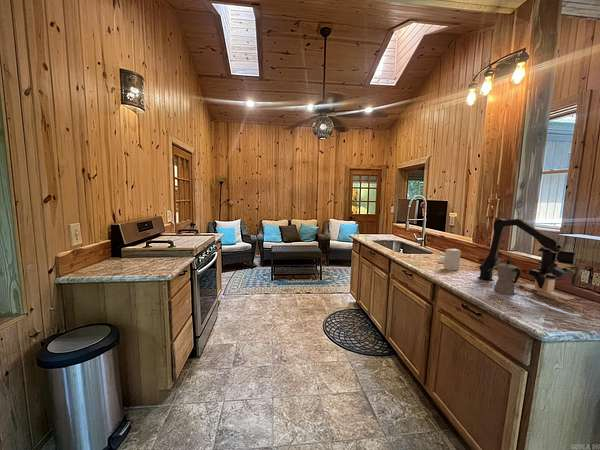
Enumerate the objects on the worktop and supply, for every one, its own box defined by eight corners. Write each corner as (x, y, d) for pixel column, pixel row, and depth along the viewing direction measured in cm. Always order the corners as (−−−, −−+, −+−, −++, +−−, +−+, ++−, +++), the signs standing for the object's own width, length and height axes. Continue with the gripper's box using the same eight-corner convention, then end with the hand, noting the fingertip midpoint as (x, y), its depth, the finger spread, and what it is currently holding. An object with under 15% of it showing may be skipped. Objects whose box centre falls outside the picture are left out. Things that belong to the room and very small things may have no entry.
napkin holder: (460, 265, 208) (461, 258, 207) (452, 267, 202) (453, 259, 201) (441, 260, 221) (442, 254, 220) (433, 262, 215) (434, 255, 214)
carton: (547, 292, 145) (549, 280, 144) (534, 288, 151) (535, 276, 150) (553, 292, 146) (555, 279, 145) (540, 288, 152) (542, 276, 151)
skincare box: (452, 268, 197) (455, 248, 195) (459, 270, 191) (461, 250, 189) (443, 268, 195) (445, 248, 193) (449, 270, 189) (451, 250, 188)
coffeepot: (487, 287, 156) (491, 257, 154) (503, 288, 156) (507, 258, 154) (507, 297, 141) (512, 264, 139) (525, 298, 141) (530, 265, 139)
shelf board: (555, 302, 137) (555, 296, 137) (512, 287, 158) (512, 282, 158) (574, 300, 141) (575, 294, 140) (530, 285, 162) (531, 281, 161)
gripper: (552, 265, 136) (547, 294, 138) (578, 264, 141) (573, 292, 143) (529, 259, 147) (525, 286, 149) (554, 258, 151) (550, 285, 153)
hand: (543, 287), depth 148 cm, fingers closed on carton, 4 cm apart
